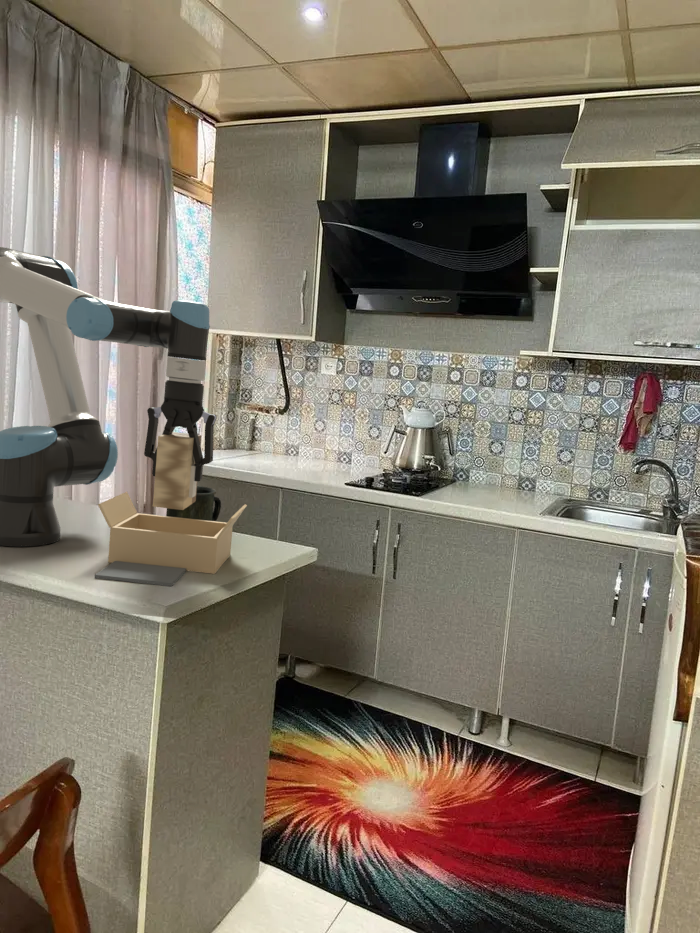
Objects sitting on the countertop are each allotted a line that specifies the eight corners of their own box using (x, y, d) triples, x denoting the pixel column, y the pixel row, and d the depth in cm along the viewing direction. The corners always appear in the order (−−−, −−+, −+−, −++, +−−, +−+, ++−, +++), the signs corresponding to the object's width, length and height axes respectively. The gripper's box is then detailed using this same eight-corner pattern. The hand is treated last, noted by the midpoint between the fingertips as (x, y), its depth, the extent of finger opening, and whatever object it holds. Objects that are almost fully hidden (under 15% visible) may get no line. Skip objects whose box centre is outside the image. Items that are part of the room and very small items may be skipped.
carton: (94, 560, 139) (97, 503, 137) (121, 543, 153) (124, 491, 152) (228, 575, 138) (233, 517, 137) (242, 556, 153) (247, 504, 151)
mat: (94, 577, 128) (95, 574, 128) (114, 563, 138) (115, 560, 138) (171, 586, 128) (171, 582, 128) (186, 571, 138) (186, 568, 138)
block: (152, 506, 140) (158, 435, 138) (167, 497, 149) (172, 431, 148) (183, 510, 139) (188, 439, 138) (195, 501, 149) (201, 435, 148)
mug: (152, 539, 160) (155, 486, 158) (200, 531, 172) (204, 482, 170) (184, 549, 154) (188, 495, 152) (232, 541, 165) (237, 490, 164)
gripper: (131, 375, 138) (123, 492, 141) (228, 386, 137) (217, 503, 140) (143, 375, 145) (135, 486, 148) (235, 385, 145) (225, 497, 148)
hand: (175, 494), depth 144 cm, fingers closed on block, 6 cm apart
